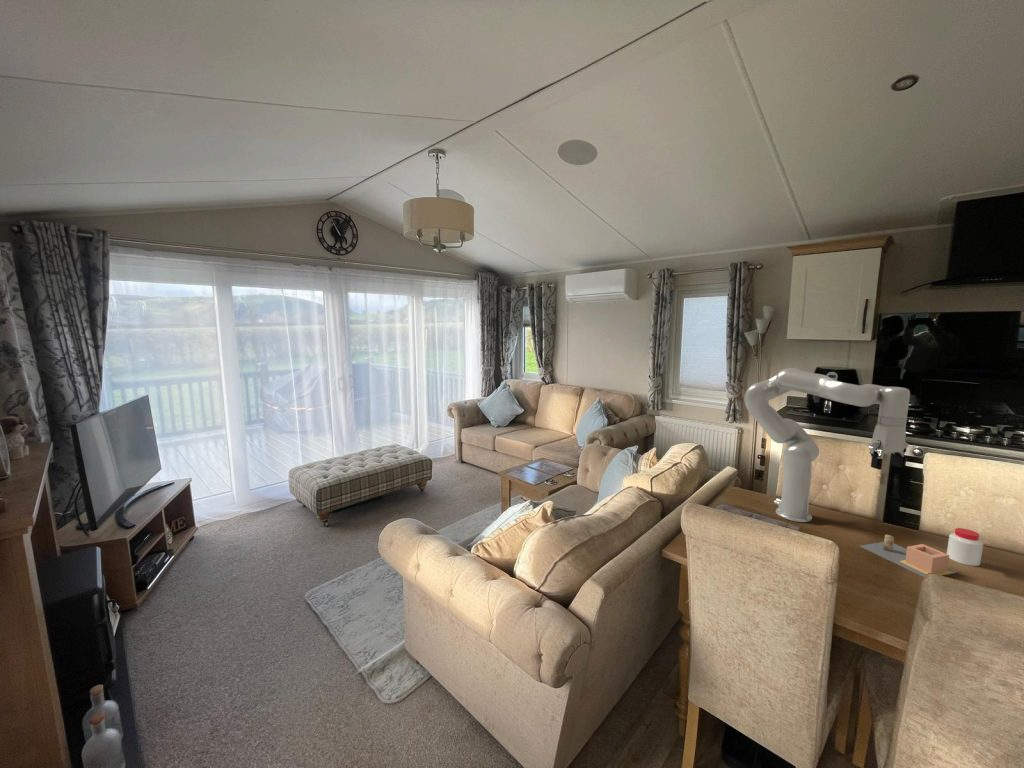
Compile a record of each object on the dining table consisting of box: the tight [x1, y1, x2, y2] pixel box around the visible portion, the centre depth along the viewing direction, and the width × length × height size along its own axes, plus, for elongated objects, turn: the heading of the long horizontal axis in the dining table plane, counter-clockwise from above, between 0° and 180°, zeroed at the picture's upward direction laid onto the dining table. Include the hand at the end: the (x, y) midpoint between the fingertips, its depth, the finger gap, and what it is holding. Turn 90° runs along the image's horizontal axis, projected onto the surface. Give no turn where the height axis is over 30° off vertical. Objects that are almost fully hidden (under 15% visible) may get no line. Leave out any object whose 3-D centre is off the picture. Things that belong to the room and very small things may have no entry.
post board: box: [859, 534, 958, 578], centre depth 139 cm, size 20×14×6 cm
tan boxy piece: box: [905, 543, 950, 573], centre depth 134 cm, size 7×7×6 cm
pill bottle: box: [945, 527, 984, 567], centre depth 138 cm, size 8×8×11 cm
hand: (886, 467), depth 150 cm, fingers open, 9 cm apart
